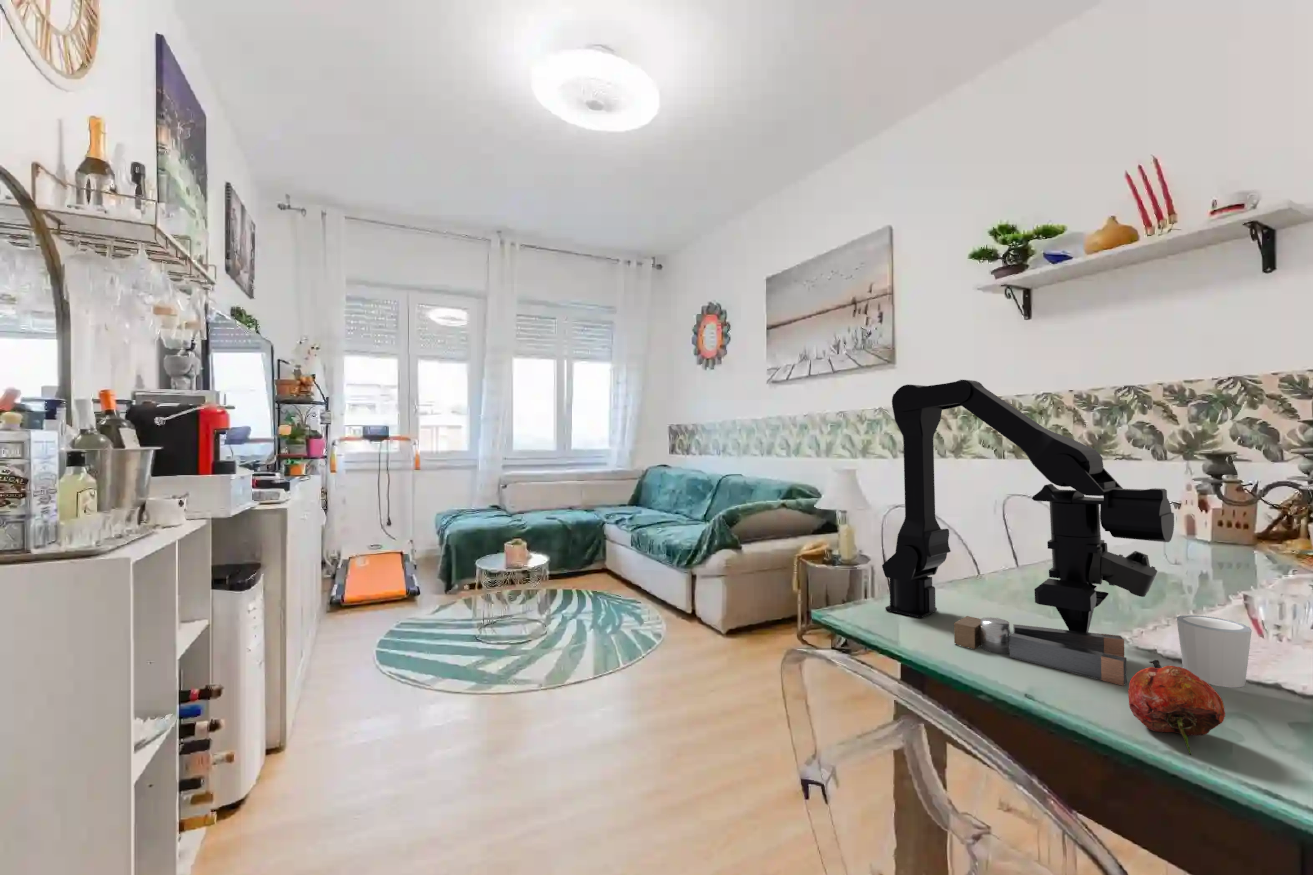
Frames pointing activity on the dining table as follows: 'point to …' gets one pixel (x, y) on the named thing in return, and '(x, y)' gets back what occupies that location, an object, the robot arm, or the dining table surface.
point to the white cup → (1214, 649)
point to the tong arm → (1076, 638)
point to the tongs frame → (1039, 650)
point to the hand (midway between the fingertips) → (1080, 643)
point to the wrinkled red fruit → (1174, 701)
